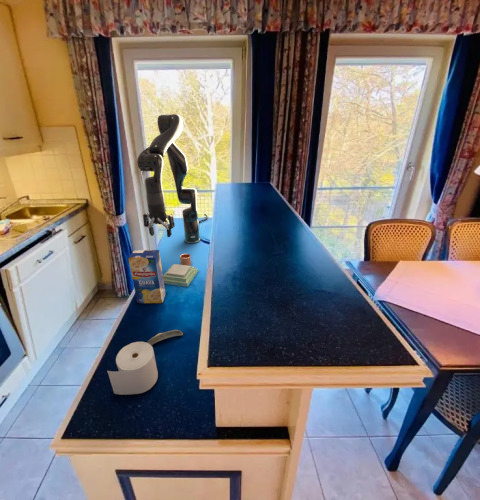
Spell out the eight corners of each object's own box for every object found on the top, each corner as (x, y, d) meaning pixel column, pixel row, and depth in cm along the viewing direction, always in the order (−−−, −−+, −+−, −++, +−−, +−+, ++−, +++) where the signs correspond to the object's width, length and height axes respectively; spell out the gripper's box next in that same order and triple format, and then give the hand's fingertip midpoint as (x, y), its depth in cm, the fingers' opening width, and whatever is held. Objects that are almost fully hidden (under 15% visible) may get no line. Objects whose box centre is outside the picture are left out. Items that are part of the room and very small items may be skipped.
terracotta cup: (183, 261, 153) (182, 253, 150) (192, 262, 151) (191, 254, 149) (179, 266, 148) (178, 257, 146) (188, 267, 146) (188, 259, 144)
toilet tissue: (163, 368, 89) (159, 344, 84) (145, 402, 78) (139, 377, 74) (134, 362, 91) (128, 338, 87) (112, 394, 81) (105, 370, 77)
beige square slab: (174, 266, 142) (174, 263, 141) (191, 268, 139) (190, 265, 138) (166, 275, 134) (166, 272, 133) (184, 277, 131) (183, 275, 131)
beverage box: (141, 293, 126) (133, 250, 116) (165, 293, 126) (159, 249, 116) (137, 303, 120) (127, 258, 110) (162, 303, 120) (155, 257, 110)
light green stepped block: (172, 268, 146) (172, 262, 144) (197, 271, 142) (197, 265, 140) (160, 283, 134) (159, 276, 132) (187, 286, 130) (186, 280, 128)
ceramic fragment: (145, 349, 96) (143, 340, 94) (142, 339, 100) (141, 331, 99) (184, 337, 101) (183, 329, 99) (180, 328, 105) (179, 320, 103)
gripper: (174, 200, 123) (178, 234, 130) (145, 198, 127) (151, 231, 134) (166, 205, 116) (171, 240, 124) (136, 203, 120) (142, 237, 127)
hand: (160, 235), depth 129 cm, fingers open, 8 cm apart
